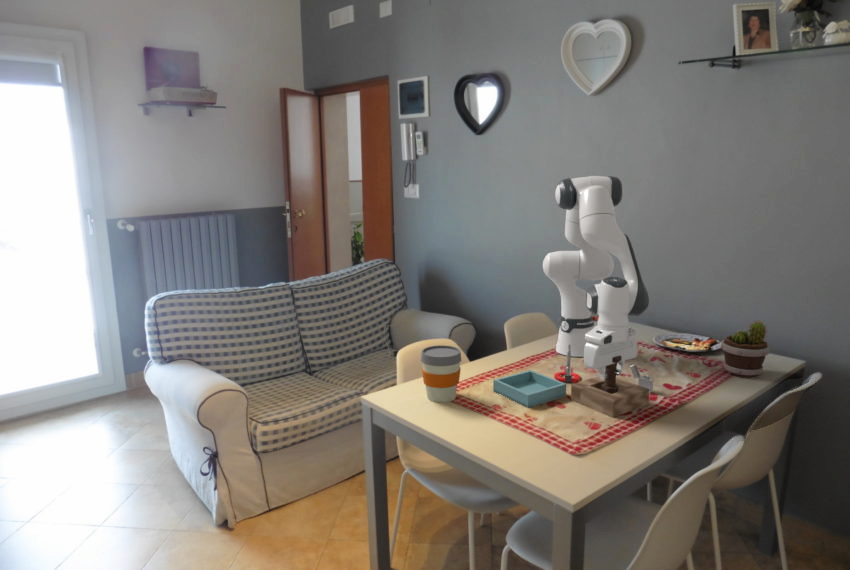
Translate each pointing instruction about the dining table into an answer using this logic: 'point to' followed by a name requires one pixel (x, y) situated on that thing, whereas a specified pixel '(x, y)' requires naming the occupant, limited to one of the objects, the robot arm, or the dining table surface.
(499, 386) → the tray
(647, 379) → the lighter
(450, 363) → the reusable coffee cup
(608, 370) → the bolt
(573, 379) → the red valve handwheel
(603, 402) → the socket block
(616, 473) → the dining table surface
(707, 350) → the food plate
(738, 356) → the flowerpot
